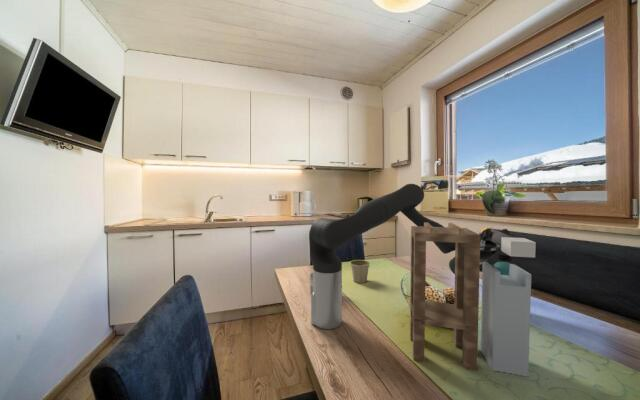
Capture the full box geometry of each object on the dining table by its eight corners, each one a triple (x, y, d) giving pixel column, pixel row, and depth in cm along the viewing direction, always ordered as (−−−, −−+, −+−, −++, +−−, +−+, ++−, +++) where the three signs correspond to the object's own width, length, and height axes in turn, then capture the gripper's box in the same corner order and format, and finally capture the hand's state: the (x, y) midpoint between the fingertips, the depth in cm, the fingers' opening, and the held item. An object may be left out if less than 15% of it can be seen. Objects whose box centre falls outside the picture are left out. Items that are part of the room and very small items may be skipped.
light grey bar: (510, 256, 53) (510, 241, 53) (478, 237, 72) (478, 226, 72) (535, 257, 52) (535, 242, 52) (495, 238, 71) (495, 227, 71)
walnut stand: (413, 360, 62) (415, 227, 61) (409, 335, 73) (411, 221, 71) (477, 370, 58) (480, 229, 57) (463, 343, 69) (466, 223, 67)
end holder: (492, 370, 58) (495, 271, 57) (480, 349, 66) (482, 261, 65) (528, 376, 56) (531, 274, 55) (511, 354, 64) (514, 264, 63)
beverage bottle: (505, 315, 84) (507, 256, 83) (487, 306, 90) (488, 252, 89) (520, 313, 85) (521, 255, 85) (501, 304, 92) (502, 250, 91)
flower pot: (346, 279, 118) (346, 261, 118) (362, 276, 122) (362, 258, 122) (356, 286, 110) (357, 266, 110) (374, 282, 114) (374, 263, 114)
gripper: (451, 238, 83) (465, 218, 68) (500, 240, 79) (527, 219, 64) (454, 261, 79) (469, 244, 64) (505, 264, 75) (534, 247, 61)
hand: (498, 232), depth 64 cm, fingers closed on light grey bar, 3 cm apart
